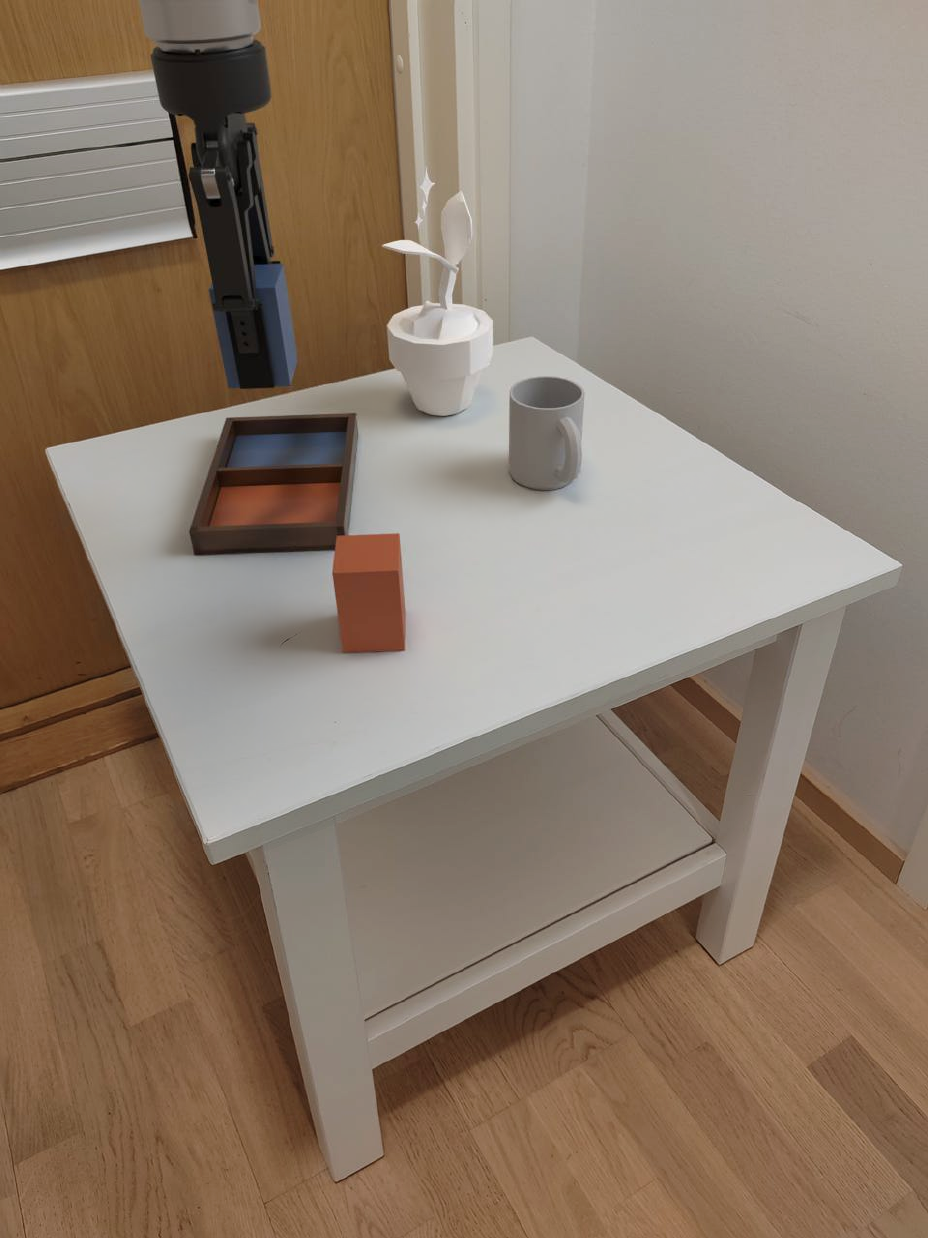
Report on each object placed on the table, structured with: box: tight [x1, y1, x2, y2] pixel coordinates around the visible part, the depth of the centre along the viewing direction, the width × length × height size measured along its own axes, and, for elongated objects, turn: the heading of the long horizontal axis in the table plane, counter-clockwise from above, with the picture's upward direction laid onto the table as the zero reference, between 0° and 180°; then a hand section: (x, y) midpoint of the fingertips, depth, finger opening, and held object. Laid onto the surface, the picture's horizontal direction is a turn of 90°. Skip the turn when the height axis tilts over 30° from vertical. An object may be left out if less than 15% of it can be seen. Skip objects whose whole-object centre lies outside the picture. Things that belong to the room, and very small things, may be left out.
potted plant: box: [381, 165, 494, 417], centre depth 102 cm, size 13×12×25 cm
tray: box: [188, 412, 359, 556], centre depth 95 cm, size 14×22×3 cm, turn 2°
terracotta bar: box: [331, 533, 407, 654], centre depth 76 cm, size 5×5×8 cm
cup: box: [508, 375, 586, 491], centre depth 94 cm, size 7×10×9 cm
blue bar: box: [208, 263, 299, 389], centre depth 75 cm, size 5×5×8 cm
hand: (263, 369), depth 78 cm, fingers closed on blue bar, 5 cm apart
